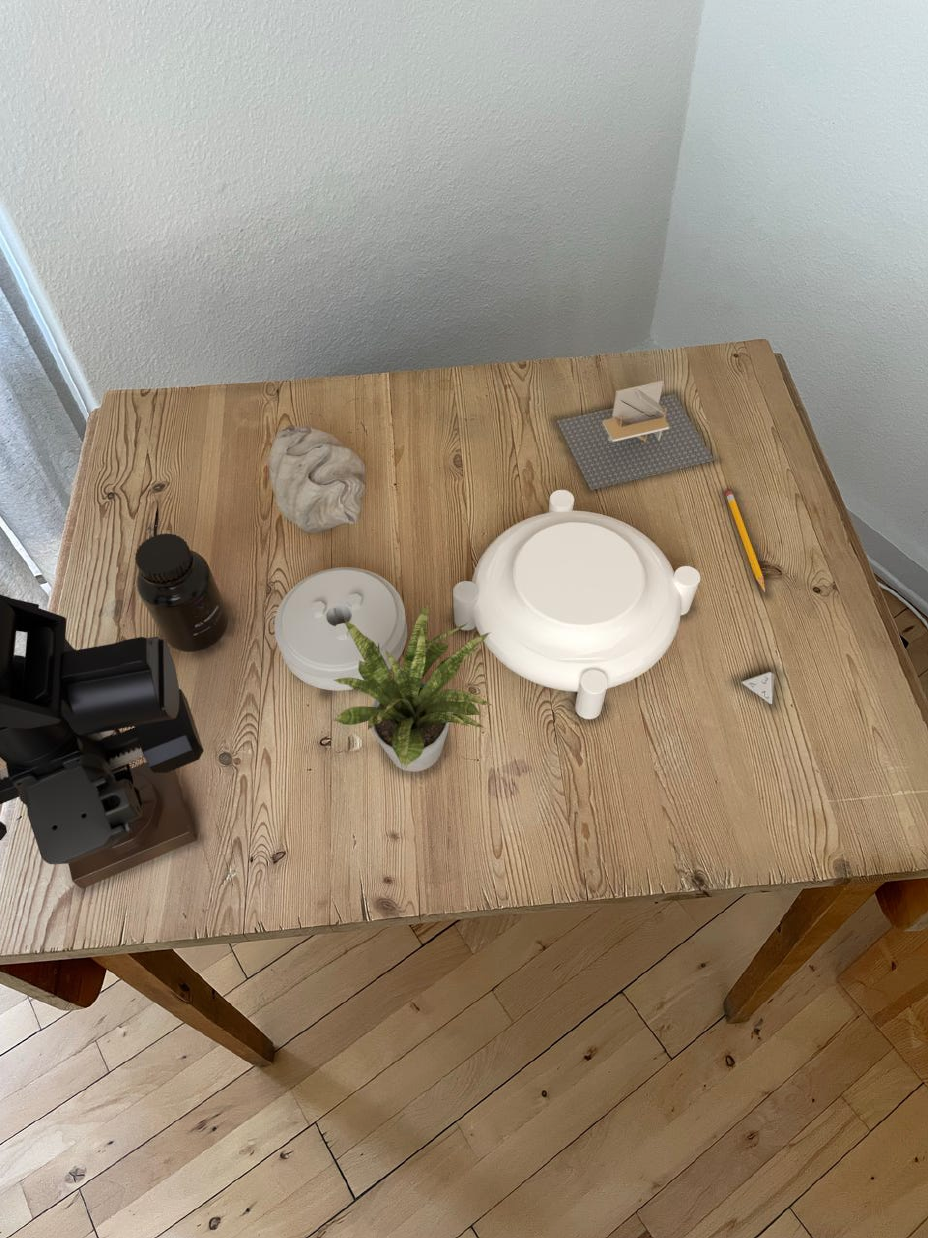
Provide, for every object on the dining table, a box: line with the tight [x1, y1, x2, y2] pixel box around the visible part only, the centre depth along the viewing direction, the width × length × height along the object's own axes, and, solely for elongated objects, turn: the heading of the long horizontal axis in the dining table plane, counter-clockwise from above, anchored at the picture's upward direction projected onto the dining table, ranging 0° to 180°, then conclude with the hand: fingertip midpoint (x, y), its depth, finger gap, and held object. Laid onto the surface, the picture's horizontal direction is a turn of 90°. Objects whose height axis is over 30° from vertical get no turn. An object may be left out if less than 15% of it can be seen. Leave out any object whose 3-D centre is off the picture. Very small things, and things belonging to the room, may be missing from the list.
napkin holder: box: [601, 380, 670, 443], centre depth 98 cm, size 3×7×7 cm, turn 106°
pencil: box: [725, 490, 766, 593], centre depth 93 cm, size 1×13×1 cm, turn 6°
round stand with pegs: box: [452, 489, 701, 720], centre depth 85 cm, size 24×24×7 cm
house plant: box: [332, 604, 492, 773], centre depth 73 cm, size 14×14×16 cm
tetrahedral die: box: [741, 671, 775, 705], centre depth 83 cm, size 4×3×3 cm
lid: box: [273, 566, 408, 692], centre depth 85 cm, size 13×13×5 cm
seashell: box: [268, 424, 367, 534], centre depth 92 cm, size 10×15×10 cm
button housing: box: [68, 761, 197, 890], centre depth 75 cm, size 10×8×4 cm
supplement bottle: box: [134, 532, 230, 653], centre depth 83 cm, size 7×7×12 cm
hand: (111, 805), depth 73 cm, fingers closed, pressing on press top
